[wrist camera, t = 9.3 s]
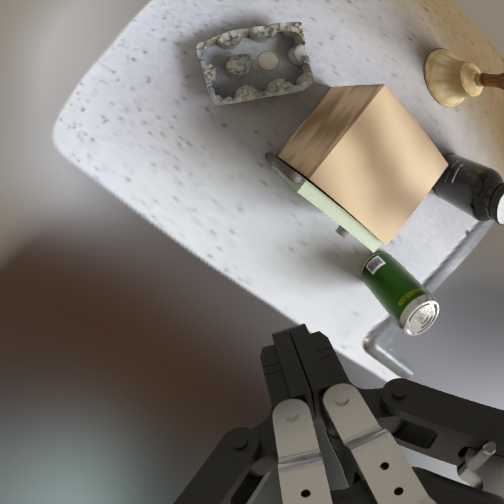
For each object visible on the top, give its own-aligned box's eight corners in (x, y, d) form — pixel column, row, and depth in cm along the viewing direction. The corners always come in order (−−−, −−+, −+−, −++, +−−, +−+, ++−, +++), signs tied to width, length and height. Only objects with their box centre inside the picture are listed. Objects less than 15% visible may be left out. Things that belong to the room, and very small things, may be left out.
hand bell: (424, 103, 31) (523, 121, 17) (421, 43, 27) (518, 37, 13) (465, 110, 32) (555, 132, 18) (463, 56, 28) (553, 61, 14)
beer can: (352, 273, 41) (395, 329, 30) (377, 243, 39) (428, 291, 29) (374, 289, 43) (416, 342, 32) (398, 261, 41) (446, 309, 31)
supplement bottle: (432, 152, 34) (497, 177, 24) (464, 153, 35) (526, 177, 24) (428, 201, 38) (487, 236, 27) (460, 197, 38) (516, 230, 28)
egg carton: (294, 28, 26) (306, 19, 23) (307, 91, 30) (321, 89, 26) (193, 43, 26) (193, 34, 22) (208, 109, 29) (210, 108, 26)
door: (277, 158, 32) (306, 180, 23) (340, 207, 36) (382, 243, 27) (265, 174, 33) (289, 202, 24) (329, 221, 36) (367, 261, 28)
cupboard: (324, 81, 29) (376, 75, 19) (388, 144, 33) (448, 164, 24) (263, 157, 32) (290, 181, 22) (334, 212, 36) (379, 254, 27)
